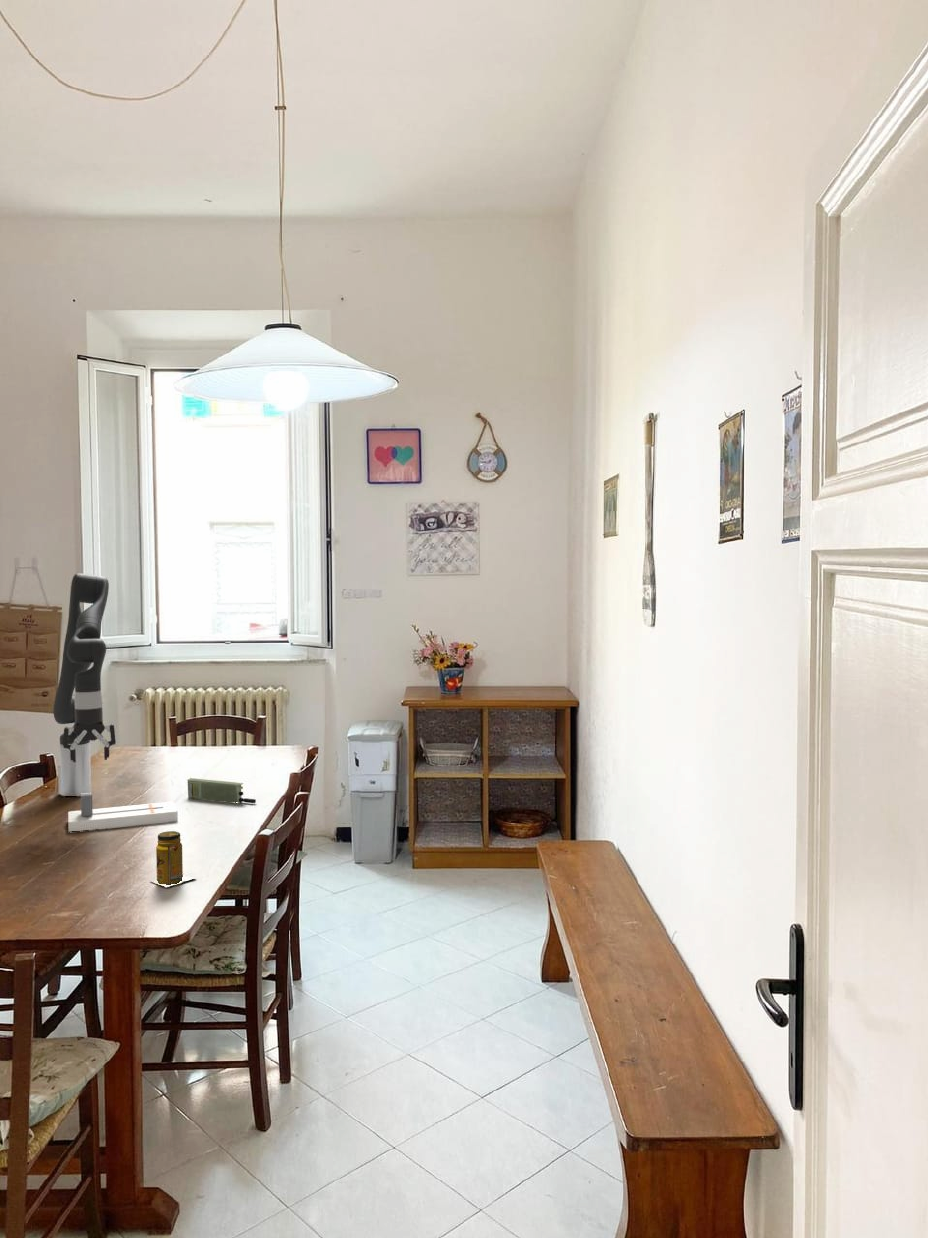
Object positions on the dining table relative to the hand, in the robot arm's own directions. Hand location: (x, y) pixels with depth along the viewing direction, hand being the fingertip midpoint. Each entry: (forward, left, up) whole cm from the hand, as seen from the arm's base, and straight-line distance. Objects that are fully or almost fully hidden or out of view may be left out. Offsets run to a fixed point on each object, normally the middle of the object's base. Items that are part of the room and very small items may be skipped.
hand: (90, 760), depth 266 cm
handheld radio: (+20, +36, -19) cm, 45 cm away
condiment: (+54, -30, -19) cm, 65 cm away
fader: (0, -2, -15) cm, 16 cm away
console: (+7, +5, -19) cm, 21 cm away
